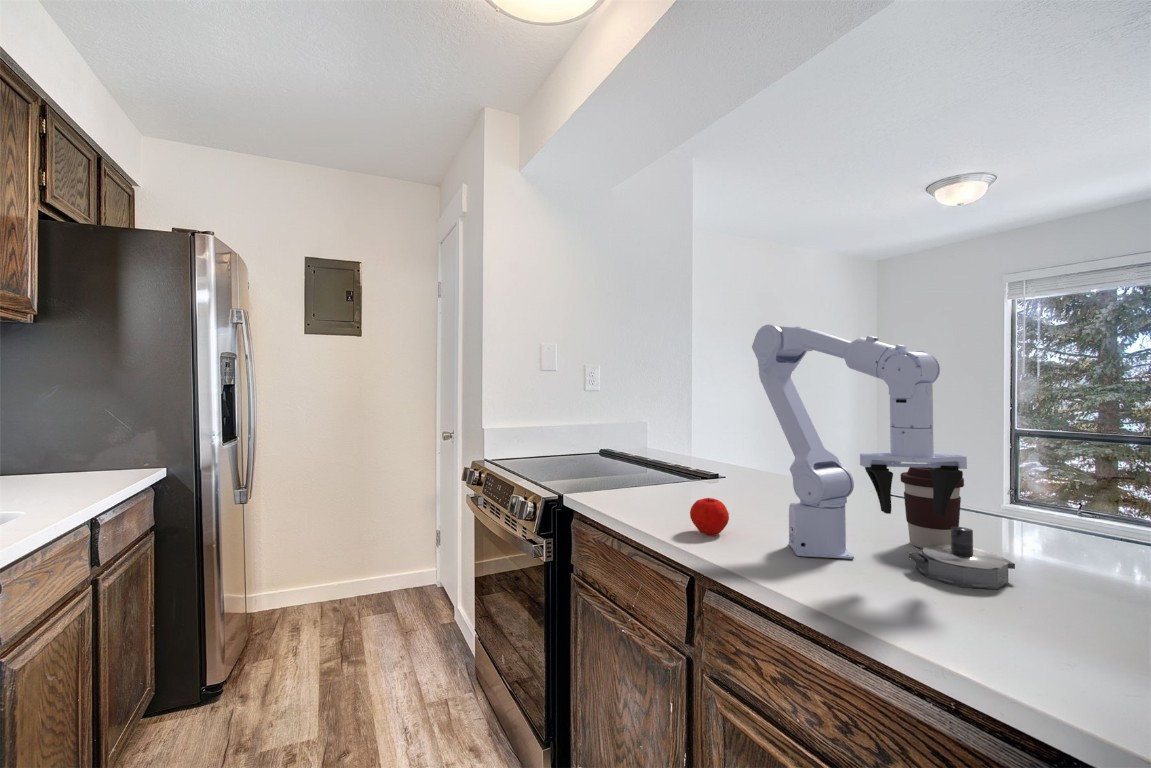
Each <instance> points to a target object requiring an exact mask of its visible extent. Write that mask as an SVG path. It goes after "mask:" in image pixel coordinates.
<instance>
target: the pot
mask: <svg viewBox="0 0 1151 768" xmlns="http://www.w3.org/2000/svg"><path fill="white" fill-rule="evenodd" d="M1001 557H1002V556H1001ZM908 558H909V559H910V560H912V561H913V562H914V563H915V569H916V570H917V571H918V572H920V574H921V575H924V577H926V578H928V579H930V580H933V581H937V582H940V583H944V584H949V585H952V586H956V587H959V588H963V589H979V590H999V589H1001V588H1003V587H1005V586H1006V585H1008V584H1009V569H1010V570H1015V569H1016V563H1014V562H1013V561H1010V560H1009V559H1006V558H1005V557H1002V558H1003V559H1004V560H1005V566H1004V567H1002V568H999V569H972V568H964V567H958V566H953V565H949V564H945V563H941V562H938V561H935V560H933V559H930V558H928V557H926V556H925V555H924V554H923V548H918V549H916V550H915V551H914V552H908Z"/></svg>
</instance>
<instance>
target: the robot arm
mask: <svg viewBox="0 0 1151 768" xmlns="http://www.w3.org/2000/svg"><path fill="white" fill-rule="evenodd" d="M879 339H880V338H879V337H877V336H873V335H867V336H866V337H858V338H856V339H854V340H852V341H851V340H847V339H844V338H842V337H839V336H835V335H832V334H830V333H827V332H824V331H822V330H818V329H815V328H809V327H807V328H806V327H802V326H784V325H783V326H782V325H774V324H765V325H762V326H761V327H760V328H759V329H758V330H757V332H756V334H755V336H754V338H753V342H752V344H751V348H752V351H753V353H754V355H755V357H756V360H757V365H758V366H757V367H758V376H759V380H760V382H761V385H762V387H763V389H764V391H765V394H766V396H767V398H768V401H769V402H770V405H771V407H772V409H773V412H774V413H775V416H776V418H777V420H778V422H779V425H780V427H781V429H782V431H783V433H784V436H785V439H786V440H787V442H788V443H787V444H788V445H789V447H790V449H791V451H792V454H793V456H794V459H793V461H792V463H791V465H790V467H789V471H790V474H791V476H792V486H793V490H794V494H795V495H796V497H797V498H798V499H799V502H791V503H790V504H789V505H788V506H789V507H788V545H789V546H790V548H791V549H792V551H793V552H794V553H795V555H796V556H797V557H805V558H806V557H810V558H812V557H813V558H828V559H829V558H830V559H832V558H833V559H845V560H847V559H848V560H853V559H855V556H854V555H853V554H852V553H851V551H849V550H848V549H847V538H846V537H847V534H846V533H847V531H846V530H847V529H846V528H847V526H846V504H847V502H848V499H847V498H848V497H850V496H851V495H852V493H853V491H854V487H855V482H854V478H853V476H852V474H851V472H850V471H849V470H848V469H846V467H844V466H843V464H842V463H841V462H840V460H839V458H838V456H837V455H835V454H834V453H832V452H831V451H829V450H828V449H826V448H825V447H824V445H823V442H822V440H821V438H820V436H819V434H818V432H817V430H816V428H815V426H814V424H813V421H812V420H811V417H810V415H809V413H808V411H807V409H806V407H805V405H804V402H803V400H802V398H801V396H800V394H799V392H798V390H797V388H796V386H795V384H794V382H793V380H792V377H791V375H792V373H793V372H794V371H795V370H796V368H797V367H798V365H799V364H800V363H801V361H802V360H803V358H804V357H805V356H806V355H807V352H812V351H815V352H819V353H822V354H825V355H829V356H833V357H836V358H840V359H843V360H844V361H845V365H846V366H847V367H848V368H849V369H851V370H854V371H856V372H859V373H861V374H865V375H868V376H871V377H874V378H876V379H880V380H883V381H884V382H885V384H886V385H887V386H888V396H889V423H890V424H889V425H890V426H889V428H890V431H889V432H890V434H889V435H890V437H889V438H890V440H889V442H890V445H889V446H890V447H889V448H890V452H878V453H877V452H876V453H873V452H872V453H859V465H860V466H861V467H863V468H865V472H866V473H867V475H868V477H869V479H870V481H871V483H872V484H873V487H874V489H875V491H876V492H875V493H876V495H877V499H878V502H879V505H880V511H881V512H883V513H884V514H887V515H891V514H892V495H891V494H892V484H893V478H894V472H892V471H890V468H892V467H893V468H910V467H928V468H930V473H931V478H932V484H933V508H934V513H936V514H938V515H941V516H945V514H946V510H947V506H948V503H949V500H950V497H951V495H952V493H953V491H954V489H955V487H956V486H957V484H958V483H959V481H960V480H961V479H962V477H963V475H964V473H963V470H967V469H968V465H967V464H968V463H967V462H968V461H967V459H968V458H967V456H964V455H962V454H942V453H941V454H940V453H934V398H933V397H934V396H933V395H934V393H933V391H934V389H933V387H934V386H933V384H934V383H935V382H936V381H937V379H938V378H939V376H940V372H941V366H940V363H939V361H938V359H937V358H936V357H934V356H933V355H932V354H929V353H927V352H926V351H924V350H917V351H908V350H907V347H906V345H903V344H896V345H892V344H889V343H888V344H887V343H884V342H881V341H879ZM963 478H964V477H963Z"/></svg>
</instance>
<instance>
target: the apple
mask: <svg viewBox="0 0 1151 768" xmlns="http://www.w3.org/2000/svg"><path fill="white" fill-rule="evenodd" d="M729 515H730V513H729V510H728V509H727V507H726V505H725V504H724V503H723V502H722V501H720V500H719V499H715V498H712V497H705V498H701V499H697V500H696V501H695V502H694V503H693V504H692V506H691V507H690V511H689V518H690V520H691V522H692V523H693V525H694V526H695V528H696V529H697V530H698V531H699V532H700V533H701V534H703V535H707V536H717V535H719V534H721V533H722V532H723V530H724V529H725V528H726V526H727V525H728V524H729V521H730V516H729Z"/></svg>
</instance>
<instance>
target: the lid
mask: <svg viewBox="0 0 1151 768" xmlns="http://www.w3.org/2000/svg"><path fill="white" fill-rule="evenodd" d="M923 554H924V555H925V556H926V557H928V558H930V559H933V560H935V561H938V562H941V563H945V564H949V565H953V566H958V567H964V568H972V569H999V568H1002V567H1004V566H1005V560H1004V559H1003V558H1004V557H1003V558H1002V556H1000V555H998V554H997V553H993V552H990V551H987V550H985V549H980V548H976V547H974V530H973V529H972V528H969V527H963V526H959V527H951V545H948V544H933V545H927V546H924V547H923Z"/></svg>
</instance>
